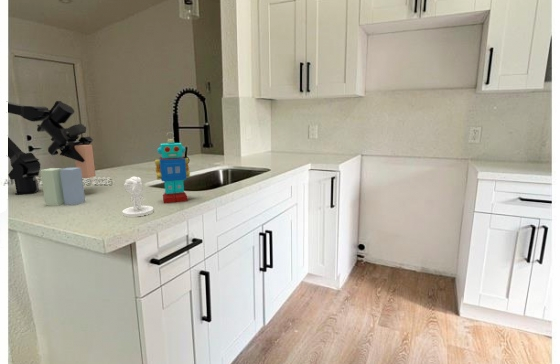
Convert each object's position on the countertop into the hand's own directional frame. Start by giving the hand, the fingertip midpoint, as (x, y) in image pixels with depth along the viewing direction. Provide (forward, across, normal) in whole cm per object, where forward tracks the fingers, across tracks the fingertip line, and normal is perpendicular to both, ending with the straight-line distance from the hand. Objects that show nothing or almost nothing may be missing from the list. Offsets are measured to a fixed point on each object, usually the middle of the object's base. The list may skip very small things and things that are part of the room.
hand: (87, 160), depth 127 cm
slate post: (+11, -13, +8) cm, 19 cm away
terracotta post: (+4, 0, +6) cm, 7 cm away
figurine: (+32, -23, -13) cm, 41 cm away
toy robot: (+36, -7, -17) cm, 40 cm away
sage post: (+7, -15, +12) cm, 20 cm away
